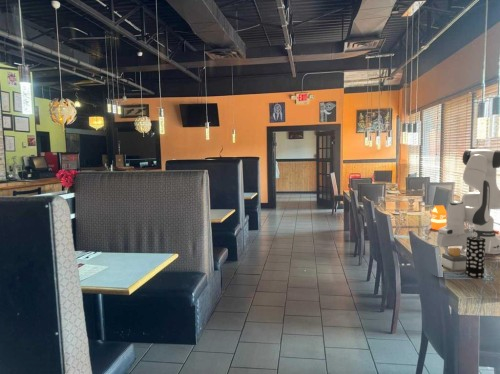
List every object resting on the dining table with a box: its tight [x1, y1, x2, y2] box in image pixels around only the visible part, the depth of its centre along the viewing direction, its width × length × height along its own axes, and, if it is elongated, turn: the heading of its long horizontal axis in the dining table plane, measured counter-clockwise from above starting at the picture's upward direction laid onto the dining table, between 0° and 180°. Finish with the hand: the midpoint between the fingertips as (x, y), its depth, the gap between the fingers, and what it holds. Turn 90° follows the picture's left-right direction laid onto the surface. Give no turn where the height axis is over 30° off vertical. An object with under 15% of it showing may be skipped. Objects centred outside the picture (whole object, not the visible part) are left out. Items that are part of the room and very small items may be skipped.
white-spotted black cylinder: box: [465, 236, 486, 279], centre depth 197 cm, size 8×8×20 cm
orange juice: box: [430, 204, 447, 231], centre depth 320 cm, size 8×9×20 cm
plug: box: [448, 246, 461, 257], centre depth 214 cm, size 4×4×7 cm
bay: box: [440, 252, 466, 272], centre depth 215 cm, size 18×14×7 cm
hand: (454, 253), depth 214 cm, fingers open, 8 cm apart
